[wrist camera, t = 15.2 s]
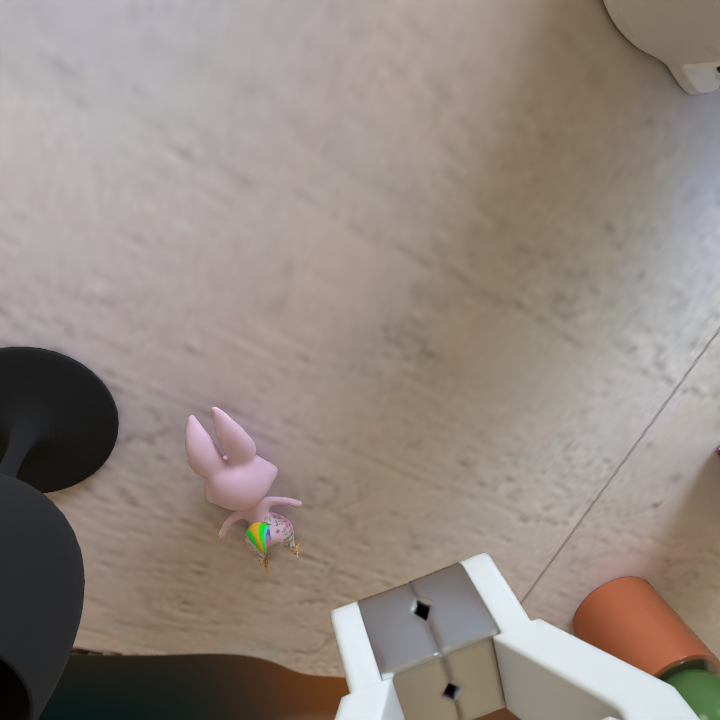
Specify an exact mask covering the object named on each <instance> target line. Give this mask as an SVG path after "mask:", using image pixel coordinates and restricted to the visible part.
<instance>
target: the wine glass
mask: <svg viewBox="0 0 720 720" xmlns="http://www.w3.org/2000/svg"><path fill="white" fill-rule="evenodd" d="M118 425H119V422H118V412H117V409H116V405H115V402H114V400H113V398H112V396H111V394H110V392H109V390H108V389H107V388H106V386H105V385H104V384H103V382H102V381H101V380H100V379H99V378H98V377H97V376H96V375H95V374H94V373H93V372H92V371H91V370H89V369H88V368H86V367H85V366H84V365H82V364H81V363H79V362H77V361H75V360H73V359H72V358H70V357H67V356H65V355H62V354H60V353H57V352H54V351H49V350H45V349H41V348H32V347H7V348H1V349H0V720H37V719H38V718H39V716H40V714H41V713H42V711H43V709H44V707H45V705H46V704H47V702H48V700H49V698H50V696H51V695H52V693H53V691H54V689H55V687H56V685H57V683H58V681H59V679H60V677H61V675H62V673H63V670H64V668H65V666H66V663H67V661H68V658H69V656H70V653H71V650H72V647H73V644H74V640H75V637H76V634H77V631H78V627H79V624H80V619H81V614H82V609H83V598H84V584H85V579H84V567H83V559H82V554H81V549H80V547H79V544H78V541H77V539H76V536H75V533H74V531H73V529H72V527H71V526H70V524H69V523H68V521H67V519H66V518H65V516H64V514H63V513H62V512H61V511H60V510H59V509H58V508H57V506H56V505H55V504H54V503H53V502H52V501H51V500H50V499H49V498H48V497H46V496H45V495H44V494H43V493H48V492H53V491H58V490H62V489H65V488H68V487H71V486H73V485H75V484H77V483H79V482H81V481H83V480H85V479H86V478H88V477H89V476H91V475H92V474H94V473H95V472H96V471H97V470H98V469H99V468H100V467H101V466H102V465H103V464H104V463H105V461H106V460H107V459H108V457H109V456H110V454H111V452H112V450H113V448H114V445H115V442H116V438H117V435H118Z"/></svg>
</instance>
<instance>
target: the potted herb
mask: <svg viewBox="0 0 720 720" xmlns="http://www.w3.org/2000/svg"><path fill="white" fill-rule="evenodd" d="M573 630H574V634H575V636H576V638H578V639H580V640H582V641H584V642H586V643H588V644H590V645H592V646H594V647H596V648H598V649H600V650H602V651H604V652H606V653H608V654H610V655H612V656H614V657H616V658H618V659H620V660H622V661H624V662H626V663H628V664H630V665H632V666H634V667H636V668H638V669H640V670H642V671H644V672H646V673H648V674H650V675H652V676H653V677H655V678H657V679H659V680H661V681H663V682H665V683H667V684H669V685H671V686H673V687H674V688H675V689H676V690H677V691H678V693H679V694H680V695H681V696H682V698H683V699H684V700H685V701H686V703H687V704H688V705H689V706H690V708H691V709H692V710H693V711H694V713H695V714H696V715H697V717H698V718H699V719H700V720H720V661H719V660H718V658H717V657H716V656H715V655H714V654H713V653H712V652H711V651H710V650H709V649H708V647H707V646H706V645H705V644H704V643H703V642H702V641H701V640H700V639H699V638H698V636H697V635H696V634H695V633H694V632H693V631H692V630H691V629H690V628H689V627H688V625H687V624H686V623H685V622H684V621H683V620H682V619H681V618H680V617H679V615H678V614H677V613H676V612H675V611H674V610H673V609H672V608H671V607H670V606H669V604H668V603H667V602H666V601H665V600H664V599H663V598H662V597H661V596H660V595H659V593H658V592H657V591H656V590H655V589H654V588H653V587H652V586H651V585H650V584H649V582H647V581H646V580H644V579H642V578H638V577H623V578H619V579H616V580H613V581H610V582H608V583H606V584H604V585H603V586H601V587H599V588H598V589H596V590H595V591H594V592H593V593H591V594H590V595H589V596H588V597H587V598H586V599H585V600H584V602H583V603H582V604H581V606H580V607H579V609H578V610H577V612H576V615H575V617H574V621H573Z"/></svg>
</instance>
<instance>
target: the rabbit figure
mask: <svg viewBox="0 0 720 720" xmlns="http://www.w3.org/2000/svg"><path fill="white" fill-rule="evenodd" d="M211 412H212V417H213V421H214V427H215V431H216V434H217V437H218V439H219V441H220V444H221V446H222V448H223V450H224V452H225V454H226V455H225V456H223V457H222V455H221V453H220V452H219V450H218V448H217V447H216V445H215V444H214V442H213V440H212V439H211V437H210V436H209V434H208V433H207V432H206V430H205V429H204V428H203V427H202V426H201V424H200V423H199V422H198V420H197V419H196V418H195V416H193V415H191V416H190V417H189V418H188V421H187V426H186V437H185V447H186V454H187V457H188V460H189V463H190V466H191V468H192V469H193V470H194V472H195V473H196V474H198V475H199V476H201V477H204V478H206V479H207V481H206V491H205V497H206V499H207V500H208V501H209V502H211V503H212V504H215V505H218V506H220V507H223V508H225V509H228V510H232V511H234V512H233V513H232V514H231V516H230V517H229V518H228V519H227V520H226V521H225V523H224V524H223V526H222V528H221V530H220V531H219V534H218V537H219V538H220V539H223V538H225V537H226V535H227V532H228V530H229V528H230V527H231V526H232V525H233V524H234V523H235V522H236V521H238V520H241V519H245V520H247V521H248V522H249V526H248V529H247V532H246V535H245V543H246V546H247V547H248V549H249V550H250V551H251V552H252V553H253V555H254V556H255V557H256V558H257V559H258V560H259V561H260V564H261V565H264V566H265V568H266V571H267V573H268V570H267V566H268V559H269V555H271V554H268V555H267V556H266V554H267V551H268V548H270V547H272V546H275V545H280V544H281V545H283V546H286V547H288V548H290V549H291V550H292V551H293V552H294V553H295V555H296V557H297V559H298V556H297V555H298V547H299V543H300V542H299V541H298V543H297V544H296V543H295V535H294V528H293V526H292V524H291V522H290V521H289V520H288V519H287V518H286V517H284V516H282V515H279V514H277V513H274V512H271V511H270V508H271V507H273V506H275V505H281V504H284V505H290V506H292V507H295V508H299V507H301V505H302V503H301V501H299V500H296V499H292V498H286V497H273V496H272V497H264V496H265V495H266V494H267V492H268V490H269V489H270V487H271V485H272V484H273V482H274V480H275V478H276V476H277V472H278V470H277V467H276V466H275V465H273V464H271V463H270V462H268V461H266V460H265V459H263V458H261V457H259V456H257V455H255V454H256V445H255V443H254V442H253V440H252V439H251V438H250V437H249V436H248V435H247V433H246V432H245V431H244V430H243V429H242V428H241V427H240V426H239V425H238V424H237V423H236V422H235V421H234V420H233V419H231V418H230V417H229V416H228V415H227V414H226V413H225V412H223V411H222V410H220V409H219V408H217V407H212V408H211ZM298 560H299V559H298Z"/></svg>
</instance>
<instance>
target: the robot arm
mask: <svg viewBox="0 0 720 720" xmlns="http://www.w3.org/2000/svg"><path fill="white" fill-rule="evenodd" d="M603 2H604V4H605V7H606V9H607V11H608V13H609V15H610V17H611V19H612V20H613V22H614V24H615V25H616V26H617V28H618V29H619V31H620V32H621V33H622V34H623V35H624V36H625V37H626V38H627V39H628V40H629V41H630V42H631V43H632V44H633V45H635V46H636V47H637V48H639V49H640V50H642V51H644V52H646V53H647V54H649V55H651V56H653V57H655V58H657V59H659V60H660V61H662V62H663V63H664V64H666V65H667V66H668V68H669V70H670V71H671V73H672V74H673V76H674V78H675V79H676V81H677V82H678V84H679V85H680V86H681V88H682V89H683V90H684V91H685V92H687V93H688V94H691V95H699V94H706V93H709V92H712V91H714V90H716V89H718V88H719V87H720V67H719V66H720V0H603ZM717 67H719V69H718V70H717ZM358 605H359V606H358ZM359 608H360V609H359ZM360 611H361V612H360ZM361 614H362V615H361ZM330 616H331V622H332V626H333V630H334V634H335V638H336V642H337V646H338V650H339V653H340V657H341V661H342V665H343V669H344V673H345V677H346V681H347V684H348V688H349V692H350V694H349V695H346V696H344V697H342V699H341V702H340V705H339V708H338V711H337V714H336V717H335V720H472V719H475V718H478V717H481V716H483V715H486V714H488V713H491V712H494V711H496V710H499V709H501V708H504V707H507V710H509V711H510V712H511V713H513V714H514V715H515V716H517V717H518V718H519V719H521V720H700V719H699V718H698V717H697V715H696V714H695V713H694V711H693V710H692V709H691V708H690V706H689V705H688V704H687V703H686V701H685V700H684V699H683V698H682V696H681V695H680V694H679V693H678V691H677V690H676V689H675V688H674V687H673V686H671V685H669V684H667V683H665V682H663V681H661V680H659V679H657V678H655V677H653V676H652V675H650V674H648V673H646V672H644V671H642V670H640V669H638V668H636V667H634V666H632V665H630V664H628V663H626V662H624V661H622V660H620V659H618V658H616V657H614V656H612V655H610V654H608V653H606V652H604V651H602V650H600V649H598V648H596V647H594V646H592V645H590V644H588V643H586V642H584V641H582V640H580V639H578V638H576V637H574V636H573V635H571V634H569V633H567V632H565V631H563V630H561V629H559V628H557V627H555V626H553V625H551V624H549V623H547V622H545V621H543V620H541V619H536V620H533V621H531V620H530V619H529V617H528V616H527V614H526V612H525V611H524V609H523V608H522V606H521V605H520V603H519V601H518V600H517V598H516V597H515V595H514V594H513V592H512V590H511V589H510V587H509V586H508V584H507V582H506V581H505V579H504V578H503V576H502V575H501V573H500V571H499V570H498V568H497V567H496V565H495V564H494V562H493V560H492V559H491V557H490V556H489V555H488V554H487V553H485V552H484V553H482V554H479V555H477V556H474V557H471V558H469V559H466V560H464V561H461V562H460V563H455V564H452V565H450V566H447V567H445V568H442V569H440V570H437V571H435V572H432V573H430V574H427V575H425V576H422V577H420V578H417V579H415V580H412V581H410V582H409V583H407V584H404V585H401V586H398V587H395V588H392V589H390V590H387V591H384V592H381V593H378V594H375V595H373V596H370V597H367V598H364V599H361V600H358V603H357V602H354V603H351V604H348V605H346V606H343V607H340V608H337V609H335V610H332V611H330Z"/></svg>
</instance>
